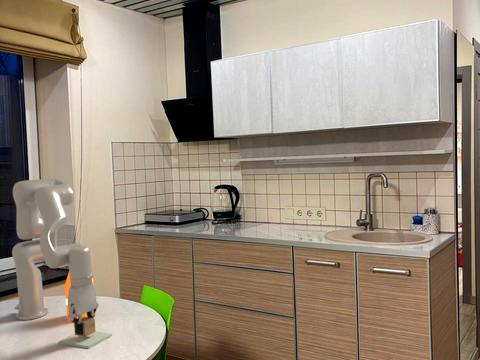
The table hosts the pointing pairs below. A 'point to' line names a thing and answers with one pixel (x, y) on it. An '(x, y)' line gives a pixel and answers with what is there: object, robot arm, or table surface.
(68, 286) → the orange juice
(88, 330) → the walnut cube
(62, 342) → the sage board
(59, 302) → the table surface
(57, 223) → the robot arm
